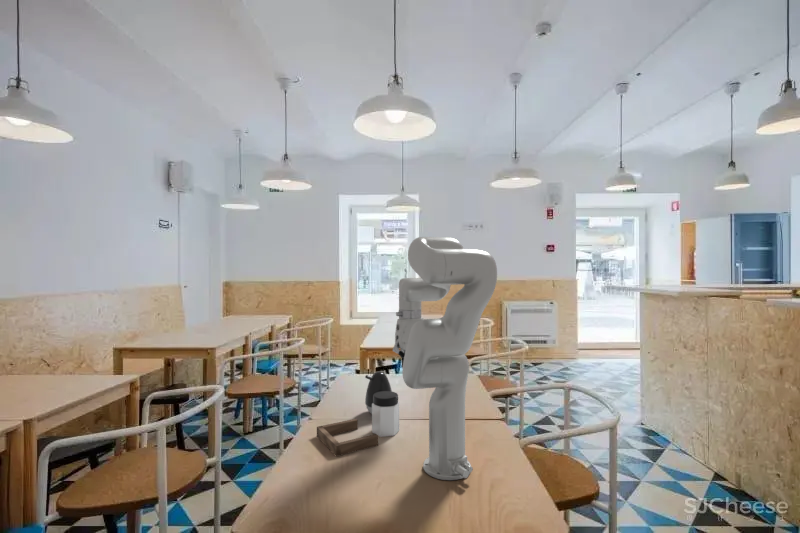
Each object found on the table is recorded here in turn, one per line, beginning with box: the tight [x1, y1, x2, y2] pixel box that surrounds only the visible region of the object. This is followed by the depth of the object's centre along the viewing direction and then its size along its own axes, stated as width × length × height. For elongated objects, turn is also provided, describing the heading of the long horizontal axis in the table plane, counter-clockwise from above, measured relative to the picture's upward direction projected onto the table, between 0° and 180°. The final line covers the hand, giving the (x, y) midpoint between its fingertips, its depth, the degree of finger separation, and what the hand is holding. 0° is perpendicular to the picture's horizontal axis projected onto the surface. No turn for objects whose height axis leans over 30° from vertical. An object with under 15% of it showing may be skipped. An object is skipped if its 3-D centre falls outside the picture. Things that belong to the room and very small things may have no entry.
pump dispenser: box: [364, 370, 393, 415], centre depth 151 cm, size 10×10×15 cm
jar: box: [371, 391, 400, 438], centre depth 134 cm, size 9×8×12 cm
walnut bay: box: [316, 418, 379, 457], centre depth 127 cm, size 16×14×3 cm
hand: (410, 368), depth 139 cm, fingers open, 3 cm apart
